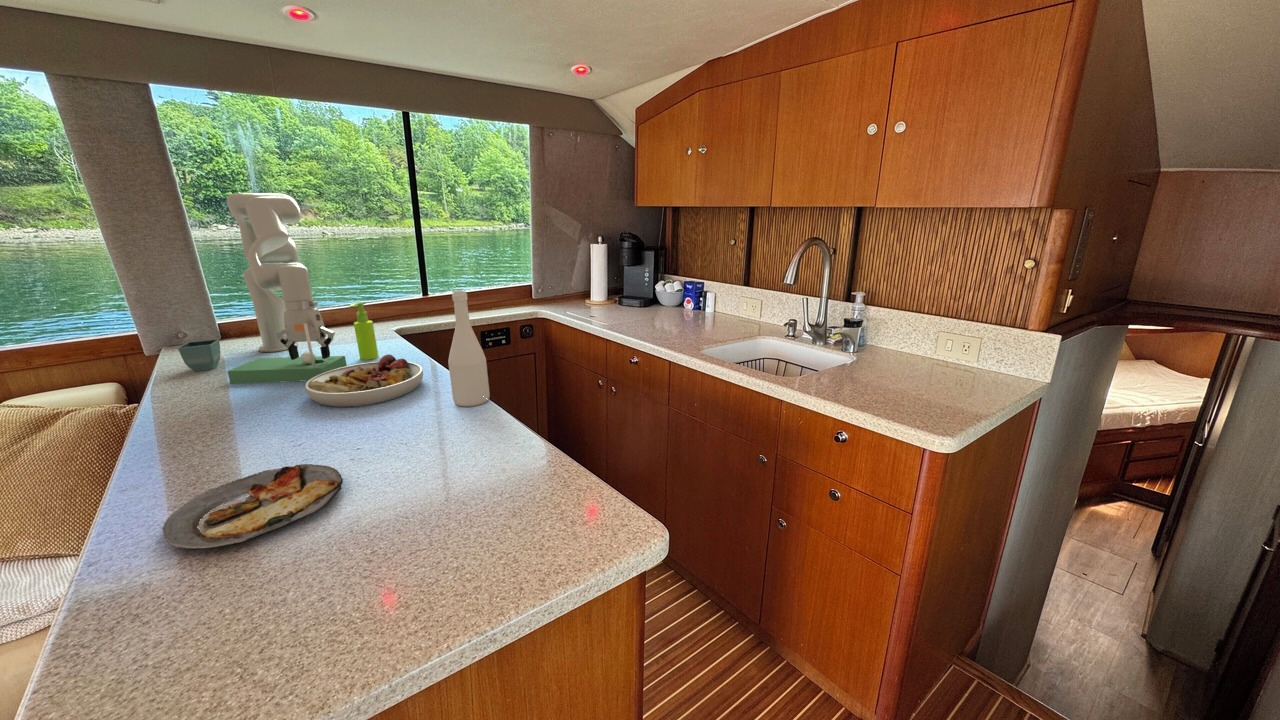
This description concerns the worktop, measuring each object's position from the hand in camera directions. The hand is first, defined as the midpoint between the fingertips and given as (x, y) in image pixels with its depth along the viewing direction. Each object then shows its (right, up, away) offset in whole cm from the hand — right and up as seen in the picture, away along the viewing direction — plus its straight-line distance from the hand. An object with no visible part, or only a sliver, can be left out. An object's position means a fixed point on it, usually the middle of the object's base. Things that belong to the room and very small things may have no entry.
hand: (310, 358), depth 159 cm
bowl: (+27, -10, -14) cm, 32 cm away
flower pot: (-42, -4, +9) cm, 43 cm away
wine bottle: (+60, -12, -23) cm, 65 cm away
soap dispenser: (+8, 0, +19) cm, 21 cm away
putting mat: (-7, -5, +1) cm, 9 cm away
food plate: (+40, -27, -72) cm, 87 cm away
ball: (-1, 0, 0) cm, 1 cm away
